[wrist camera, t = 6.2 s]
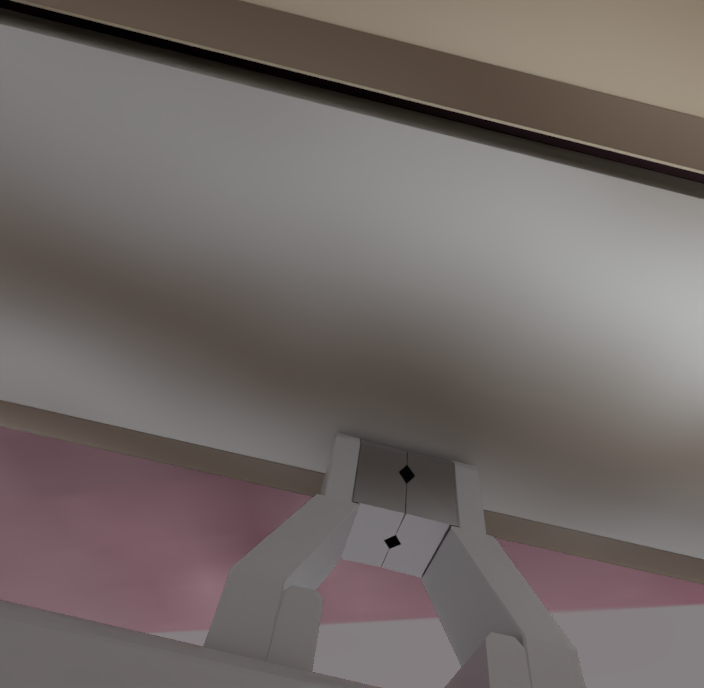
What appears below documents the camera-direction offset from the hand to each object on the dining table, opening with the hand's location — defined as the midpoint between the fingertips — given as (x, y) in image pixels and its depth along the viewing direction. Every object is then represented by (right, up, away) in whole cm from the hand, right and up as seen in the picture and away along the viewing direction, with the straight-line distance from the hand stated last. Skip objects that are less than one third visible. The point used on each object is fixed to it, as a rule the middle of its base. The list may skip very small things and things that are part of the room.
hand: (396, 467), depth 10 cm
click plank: (0, +3, 0) cm, 3 cm away
